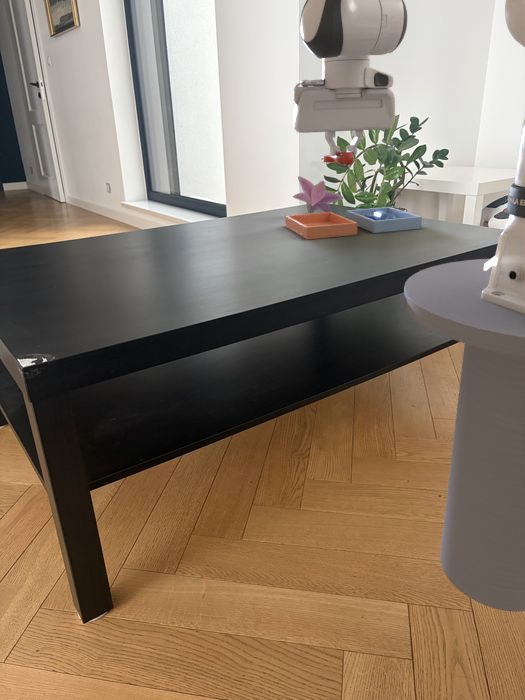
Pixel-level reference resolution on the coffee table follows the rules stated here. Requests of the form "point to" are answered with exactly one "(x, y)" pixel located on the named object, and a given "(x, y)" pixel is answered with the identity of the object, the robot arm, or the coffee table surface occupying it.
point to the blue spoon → (380, 216)
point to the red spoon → (340, 158)
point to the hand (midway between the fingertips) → (343, 155)
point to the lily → (316, 196)
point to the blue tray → (400, 223)
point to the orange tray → (320, 225)
